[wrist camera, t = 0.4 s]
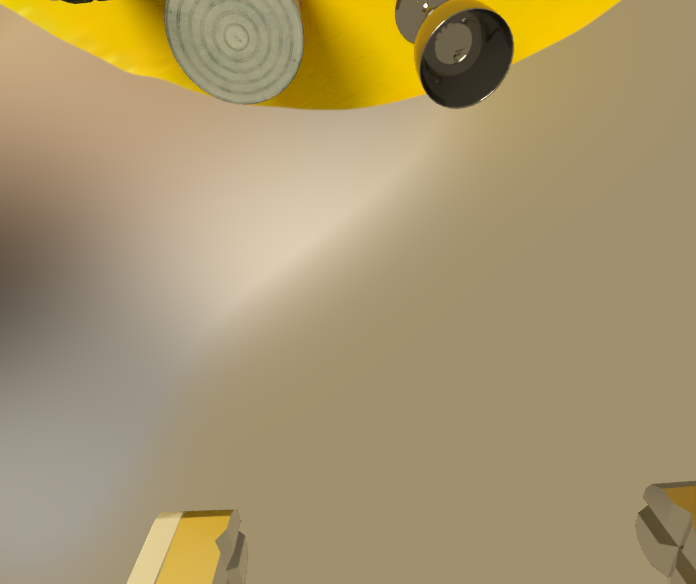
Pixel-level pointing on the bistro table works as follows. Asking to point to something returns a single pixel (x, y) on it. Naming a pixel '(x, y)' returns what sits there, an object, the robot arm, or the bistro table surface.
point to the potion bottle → (78, 1)
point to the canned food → (237, 45)
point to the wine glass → (456, 48)
